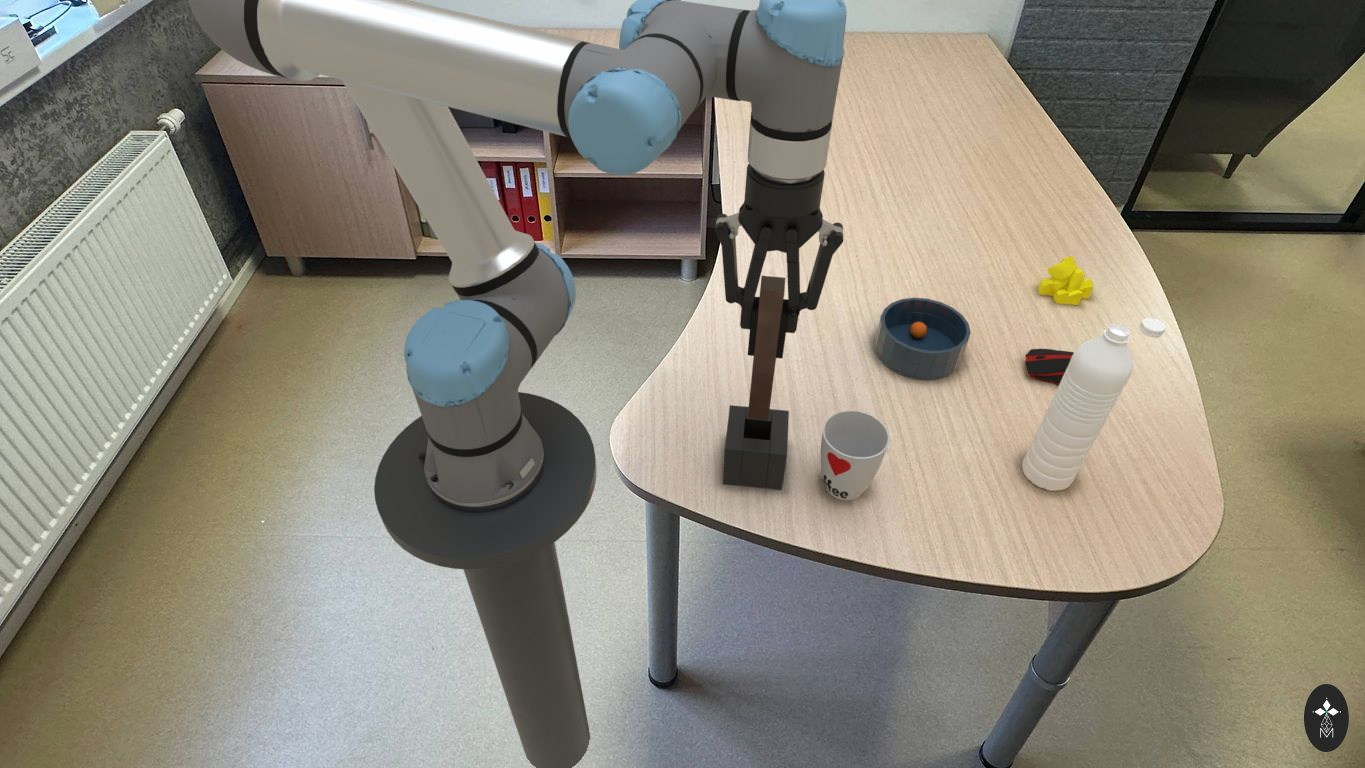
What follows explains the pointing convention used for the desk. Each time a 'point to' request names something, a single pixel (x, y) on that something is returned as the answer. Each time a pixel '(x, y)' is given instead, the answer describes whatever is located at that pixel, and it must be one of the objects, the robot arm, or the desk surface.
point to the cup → (851, 452)
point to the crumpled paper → (1066, 283)
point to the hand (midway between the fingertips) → (765, 349)
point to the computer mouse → (1047, 364)
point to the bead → (918, 329)
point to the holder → (755, 449)
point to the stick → (766, 346)
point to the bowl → (922, 339)
